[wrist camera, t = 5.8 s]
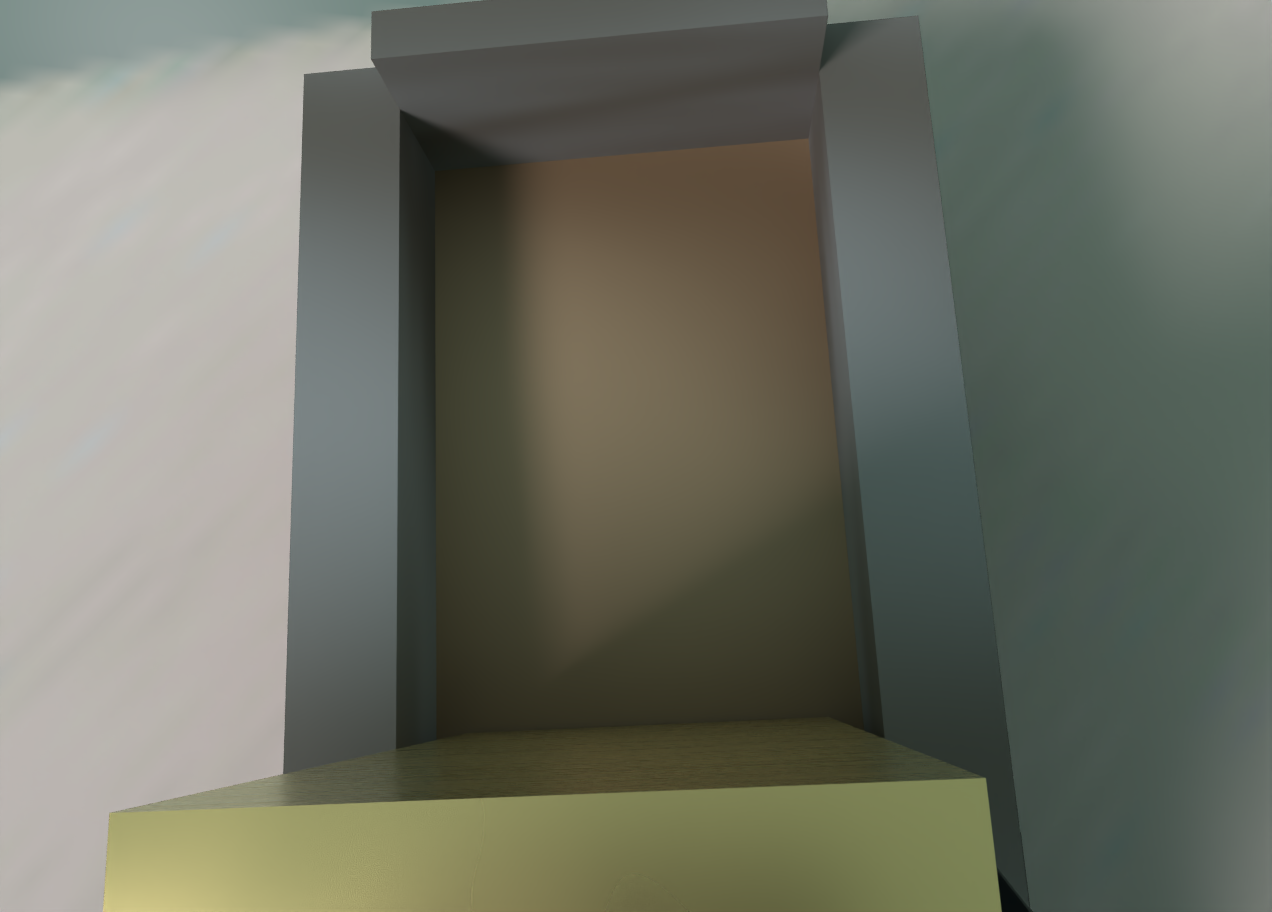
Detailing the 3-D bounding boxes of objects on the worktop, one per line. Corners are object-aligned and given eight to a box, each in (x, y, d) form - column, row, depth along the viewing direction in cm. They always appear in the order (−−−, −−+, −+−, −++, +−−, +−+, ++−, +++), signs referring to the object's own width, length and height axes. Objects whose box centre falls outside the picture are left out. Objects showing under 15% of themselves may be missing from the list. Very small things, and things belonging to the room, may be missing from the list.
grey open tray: (1039, 1462, 13) (1363, 2270, 7) (389, 1457, 14) (77, 2185, 7) (899, 232, 17) (1013, -53, 11) (396, 272, 18) (199, 28, 11)
